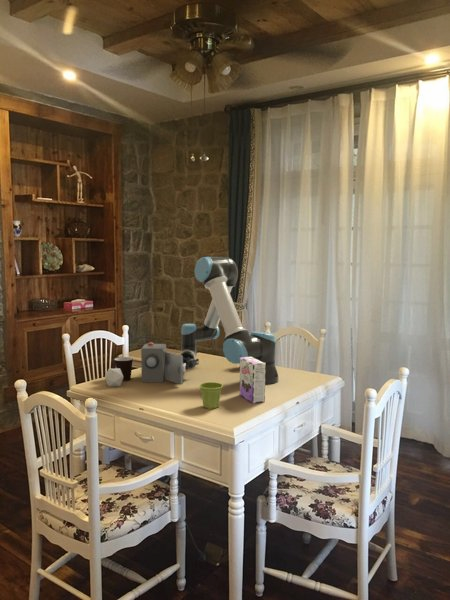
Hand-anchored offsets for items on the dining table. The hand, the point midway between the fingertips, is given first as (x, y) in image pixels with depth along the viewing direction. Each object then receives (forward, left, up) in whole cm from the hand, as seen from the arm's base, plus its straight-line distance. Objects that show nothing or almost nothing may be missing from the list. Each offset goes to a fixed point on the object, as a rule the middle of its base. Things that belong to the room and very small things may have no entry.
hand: (182, 369), depth 231 cm
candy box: (-29, -21, -8) cm, 37 cm away
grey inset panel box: (+17, +9, -8) cm, 21 cm away
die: (+13, +28, -8) cm, 32 cm away
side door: (+5, +3, -6) cm, 9 cm away
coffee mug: (+24, +21, -8) cm, 33 cm away
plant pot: (-33, -1, -8) cm, 34 cm away
